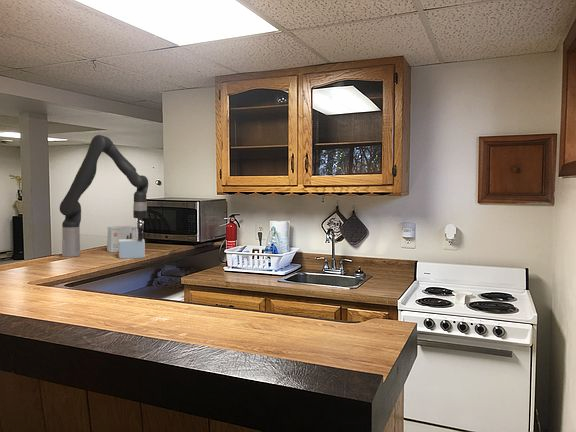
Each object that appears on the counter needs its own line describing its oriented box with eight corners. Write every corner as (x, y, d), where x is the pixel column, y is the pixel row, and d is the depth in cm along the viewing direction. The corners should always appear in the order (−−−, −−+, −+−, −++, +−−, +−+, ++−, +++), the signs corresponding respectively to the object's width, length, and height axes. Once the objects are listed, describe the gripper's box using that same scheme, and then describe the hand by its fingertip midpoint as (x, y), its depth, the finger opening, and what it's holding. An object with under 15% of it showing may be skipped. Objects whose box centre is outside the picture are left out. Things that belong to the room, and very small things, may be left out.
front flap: (119, 258, 255) (119, 231, 254) (119, 258, 256) (119, 231, 255) (144, 257, 260) (144, 230, 259) (144, 257, 261) (144, 230, 260)
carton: (119, 258, 256) (119, 241, 255) (118, 255, 265) (118, 239, 264) (144, 257, 261) (144, 240, 260) (143, 254, 270) (143, 238, 270)
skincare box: (111, 252, 277) (111, 227, 276) (106, 251, 280) (106, 226, 279) (140, 249, 293) (140, 225, 292) (136, 248, 297) (135, 224, 296)
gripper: (133, 209, 262) (133, 238, 264) (133, 210, 250) (133, 241, 251) (146, 209, 265) (146, 237, 266) (147, 210, 252) (147, 240, 254)
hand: (140, 239), depth 259 cm, fingers closed
